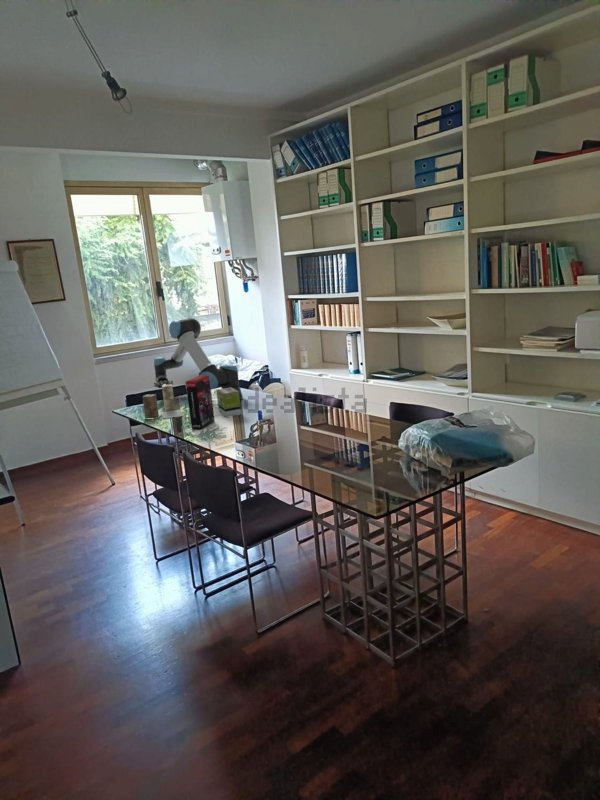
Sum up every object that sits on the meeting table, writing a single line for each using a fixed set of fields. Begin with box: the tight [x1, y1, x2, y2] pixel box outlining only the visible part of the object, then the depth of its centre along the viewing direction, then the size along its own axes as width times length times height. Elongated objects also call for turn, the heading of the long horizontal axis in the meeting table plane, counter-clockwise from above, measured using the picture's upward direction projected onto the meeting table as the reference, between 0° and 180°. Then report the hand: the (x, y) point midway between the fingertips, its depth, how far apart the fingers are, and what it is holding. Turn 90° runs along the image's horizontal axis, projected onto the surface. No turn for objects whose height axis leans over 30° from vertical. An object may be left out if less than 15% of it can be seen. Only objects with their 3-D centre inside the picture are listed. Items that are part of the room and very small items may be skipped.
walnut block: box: [142, 393, 160, 419], centre depth 352 cm, size 6×6×14 cm
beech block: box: [161, 384, 176, 412], centre depth 369 cm, size 6×6×16 cm
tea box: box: [215, 387, 242, 418], centre depth 349 cm, size 15×10×15 cm, turn 25°
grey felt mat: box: [160, 409, 184, 419], centre depth 359 cm, size 12×18×1 cm, turn 18°
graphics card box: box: [185, 374, 216, 430], centre depth 325 cm, size 17×7×27 cm, turn 163°
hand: (165, 387), depth 382 cm, fingers closed
